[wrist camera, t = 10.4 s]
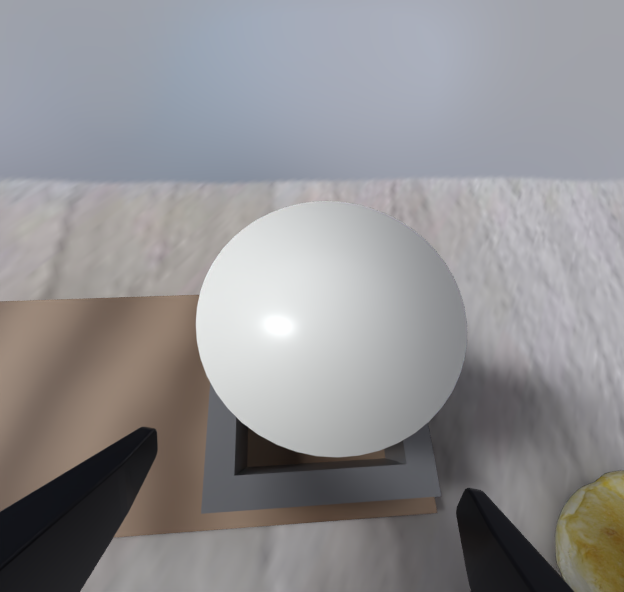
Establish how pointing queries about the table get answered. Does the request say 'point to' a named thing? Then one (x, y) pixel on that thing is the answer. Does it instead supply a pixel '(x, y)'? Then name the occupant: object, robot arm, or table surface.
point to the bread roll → (593, 536)
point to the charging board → (131, 410)
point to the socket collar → (307, 472)
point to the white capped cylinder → (331, 329)
